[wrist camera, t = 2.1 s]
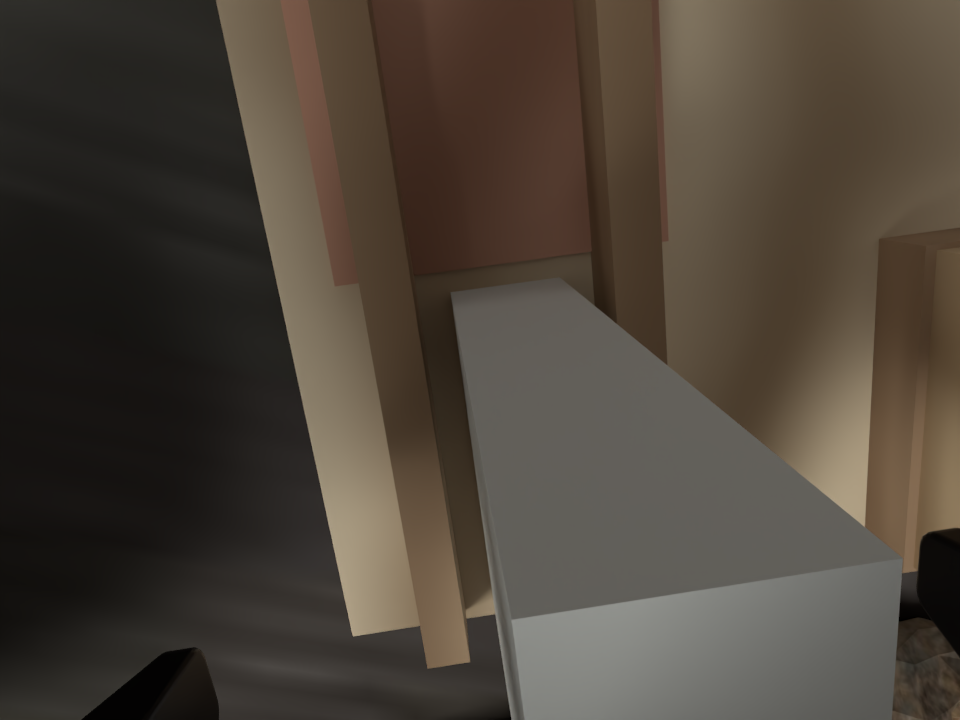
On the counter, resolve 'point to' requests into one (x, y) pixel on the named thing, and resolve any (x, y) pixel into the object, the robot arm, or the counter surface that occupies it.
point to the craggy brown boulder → (925, 674)
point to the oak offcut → (942, 407)
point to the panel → (656, 536)
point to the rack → (579, 228)
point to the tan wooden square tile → (901, 384)
